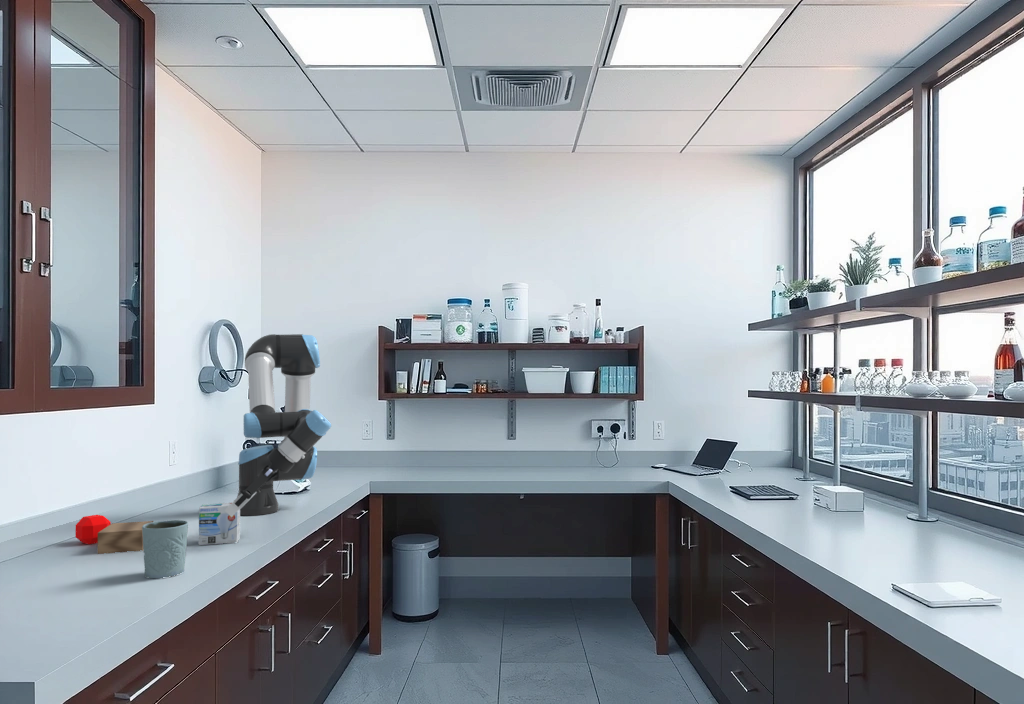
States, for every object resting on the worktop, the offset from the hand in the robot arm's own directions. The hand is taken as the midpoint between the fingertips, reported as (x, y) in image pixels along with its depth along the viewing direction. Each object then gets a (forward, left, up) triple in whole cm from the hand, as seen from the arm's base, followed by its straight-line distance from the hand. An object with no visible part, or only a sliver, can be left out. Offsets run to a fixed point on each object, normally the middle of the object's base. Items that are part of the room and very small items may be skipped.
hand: (232, 509), depth 207 cm
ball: (-10, -41, -9) cm, 43 cm away
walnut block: (-1, -29, -10) cm, 30 cm away
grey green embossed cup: (+34, -9, -9) cm, 36 cm away
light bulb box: (-1, -4, -9) cm, 10 cm away
